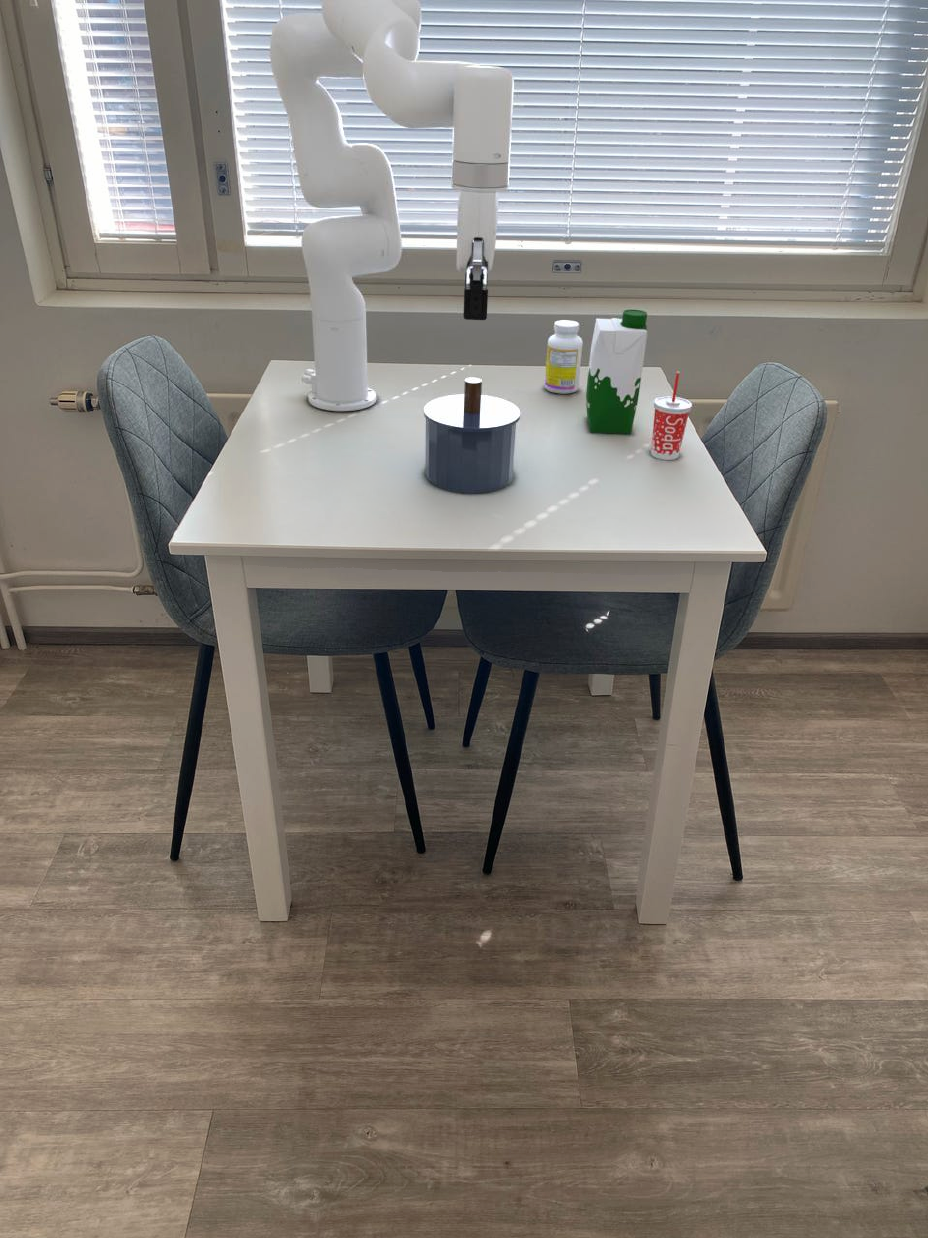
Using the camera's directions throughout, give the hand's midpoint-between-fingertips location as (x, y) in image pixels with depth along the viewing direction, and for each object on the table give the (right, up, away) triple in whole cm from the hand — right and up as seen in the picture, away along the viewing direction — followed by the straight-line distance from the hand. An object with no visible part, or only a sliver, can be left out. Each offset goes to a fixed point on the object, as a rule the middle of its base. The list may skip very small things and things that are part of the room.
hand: (475, 310), depth 127 cm
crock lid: (0, -13, +8) cm, 15 cm away
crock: (-1, -21, +14) cm, 25 cm away
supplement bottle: (+18, +1, +50) cm, 53 cm away
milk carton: (+24, -9, +34) cm, 43 cm away
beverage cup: (+32, -16, +24) cm, 43 cm away
